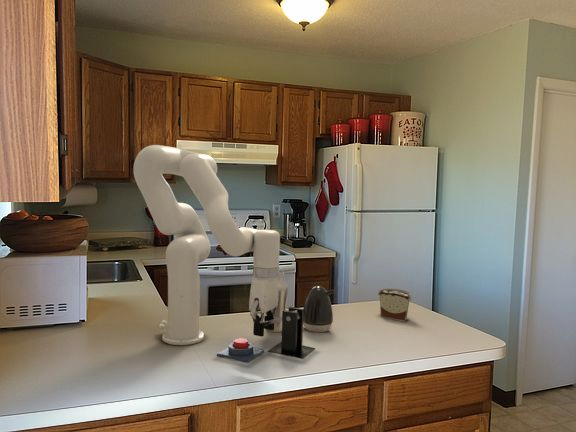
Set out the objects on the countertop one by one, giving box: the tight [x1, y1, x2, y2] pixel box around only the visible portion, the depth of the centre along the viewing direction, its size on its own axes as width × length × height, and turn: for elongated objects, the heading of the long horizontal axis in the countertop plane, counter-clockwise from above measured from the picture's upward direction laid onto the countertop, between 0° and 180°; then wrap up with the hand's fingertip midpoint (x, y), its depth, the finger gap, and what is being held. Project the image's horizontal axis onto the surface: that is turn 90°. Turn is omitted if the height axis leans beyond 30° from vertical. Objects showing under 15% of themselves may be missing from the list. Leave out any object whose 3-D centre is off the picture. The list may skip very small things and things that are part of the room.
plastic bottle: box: [268, 270, 289, 333], centre depth 155 cm, size 6×7×20 cm
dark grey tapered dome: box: [303, 285, 336, 333], centre depth 157 cm, size 10×10×15 cm
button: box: [233, 337, 249, 348], centre depth 133 cm, size 4×4×2 cm
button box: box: [216, 341, 265, 364], centre depth 133 cm, size 10×9×4 cm
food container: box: [377, 288, 412, 323], centre depth 176 cm, size 12×6×10 cm, turn 58°
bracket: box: [267, 306, 316, 360], centre depth 137 cm, size 11×9×13 cm
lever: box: [263, 310, 300, 326], centre depth 139 cm, size 12×6×2 cm, turn 64°
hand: (263, 331), depth 141 cm, fingers closed on lever, 5 cm apart
